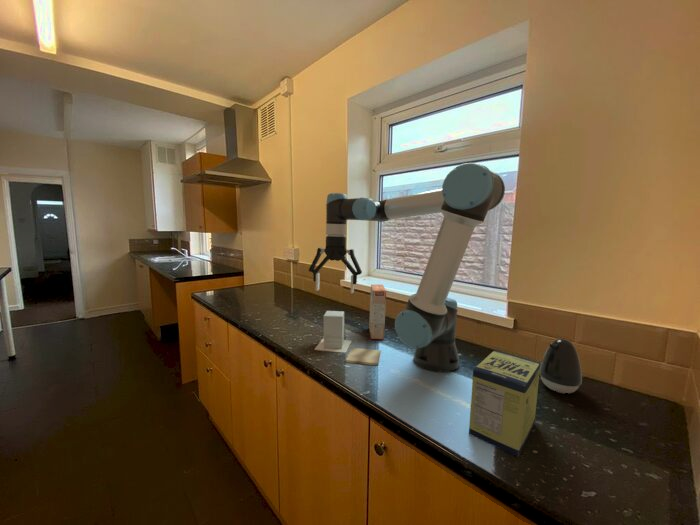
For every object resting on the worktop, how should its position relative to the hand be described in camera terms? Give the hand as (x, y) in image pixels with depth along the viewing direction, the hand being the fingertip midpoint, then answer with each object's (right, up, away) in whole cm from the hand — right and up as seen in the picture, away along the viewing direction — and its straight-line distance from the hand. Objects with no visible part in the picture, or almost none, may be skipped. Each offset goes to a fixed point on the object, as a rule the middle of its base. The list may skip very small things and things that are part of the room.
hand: (334, 291), depth 115 cm
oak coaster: (+11, -23, -8) cm, 26 cm away
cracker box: (+17, -20, +16) cm, 31 cm away
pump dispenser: (+67, -26, -26) cm, 77 cm away
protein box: (+41, -28, -45) cm, 67 cm away
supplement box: (0, -21, +2) cm, 21 cm away
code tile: (0, -21, +2) cm, 21 cm away
